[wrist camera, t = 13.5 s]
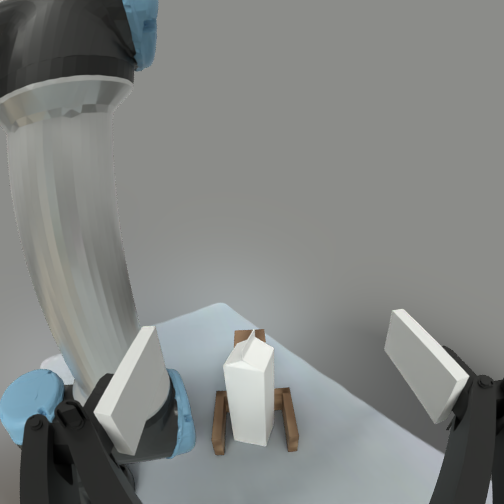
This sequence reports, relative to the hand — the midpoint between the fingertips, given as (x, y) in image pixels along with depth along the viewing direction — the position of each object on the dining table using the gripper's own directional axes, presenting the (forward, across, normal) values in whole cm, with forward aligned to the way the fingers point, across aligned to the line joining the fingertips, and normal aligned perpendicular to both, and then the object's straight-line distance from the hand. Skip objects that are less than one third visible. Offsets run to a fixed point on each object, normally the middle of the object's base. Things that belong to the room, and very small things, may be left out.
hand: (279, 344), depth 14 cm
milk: (+20, -2, -35) cm, 41 cm away
